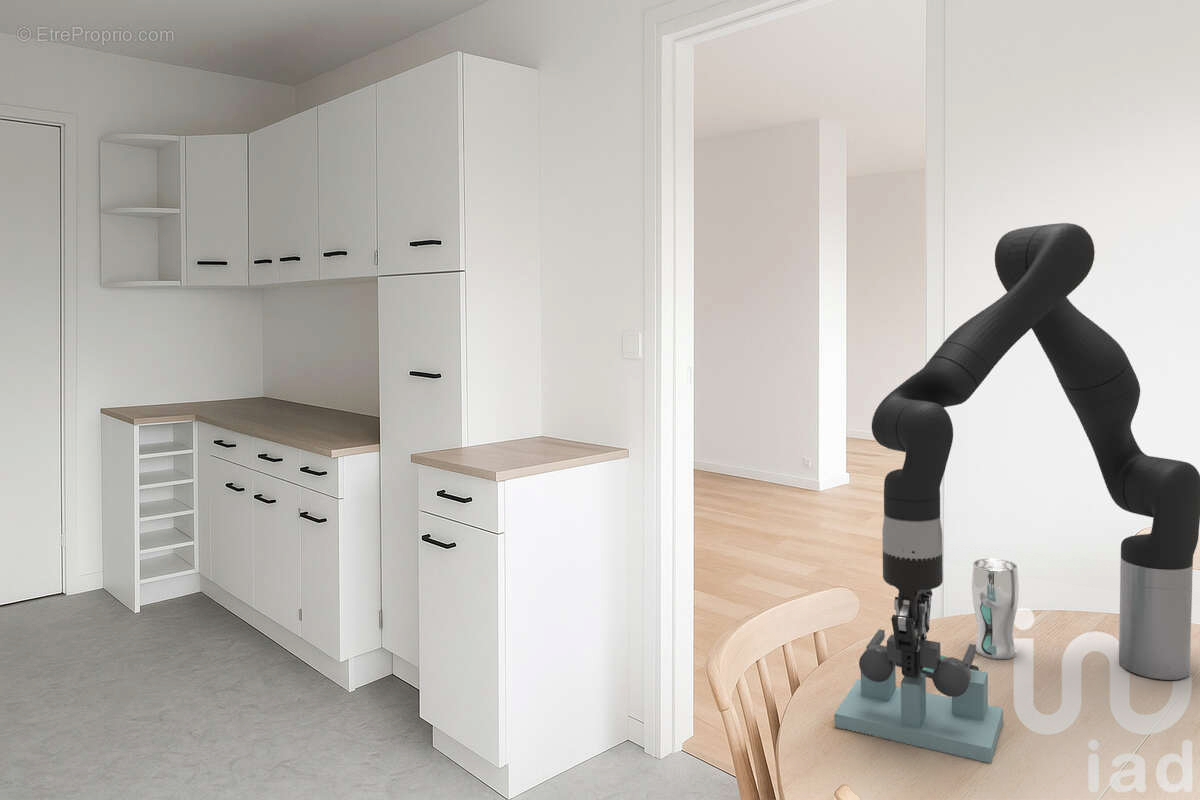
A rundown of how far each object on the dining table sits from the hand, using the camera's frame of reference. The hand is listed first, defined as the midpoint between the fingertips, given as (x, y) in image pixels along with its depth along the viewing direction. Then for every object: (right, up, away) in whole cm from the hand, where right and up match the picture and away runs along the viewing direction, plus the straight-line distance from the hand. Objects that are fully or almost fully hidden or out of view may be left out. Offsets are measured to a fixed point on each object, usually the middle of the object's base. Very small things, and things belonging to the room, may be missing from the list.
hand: (913, 671), depth 112 cm
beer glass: (+23, -5, +25) cm, 35 cm away
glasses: (+2, -2, +3) cm, 4 cm away
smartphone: (+10, -7, +22) cm, 25 cm away
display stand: (+2, -9, +3) cm, 9 cm away
